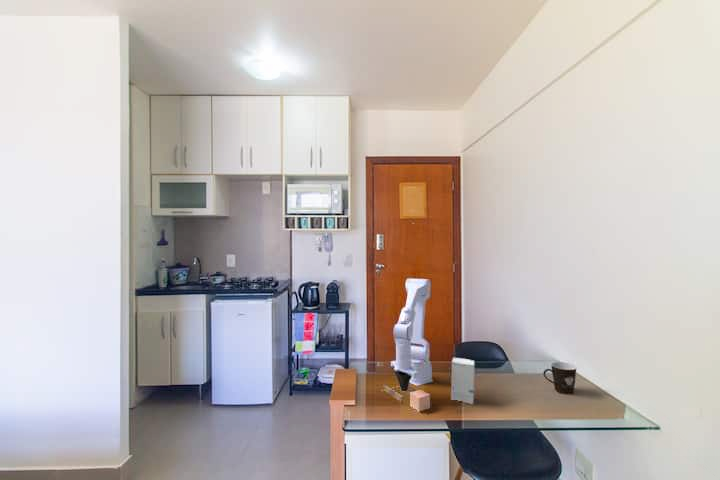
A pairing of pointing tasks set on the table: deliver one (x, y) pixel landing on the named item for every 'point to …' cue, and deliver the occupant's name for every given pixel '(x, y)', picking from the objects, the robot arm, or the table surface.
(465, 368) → the skincare box
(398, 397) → the chute
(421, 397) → the block
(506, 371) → the table surface
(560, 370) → the coffee mug
